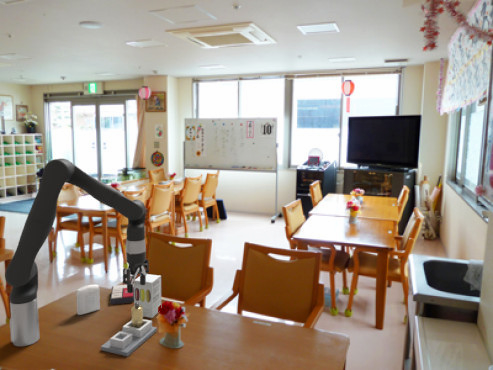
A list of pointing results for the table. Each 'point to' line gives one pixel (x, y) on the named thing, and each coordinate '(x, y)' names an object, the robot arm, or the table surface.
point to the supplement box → (148, 294)
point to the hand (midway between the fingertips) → (136, 288)
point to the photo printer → (88, 299)
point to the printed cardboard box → (121, 295)
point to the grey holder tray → (129, 338)
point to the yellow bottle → (137, 315)
